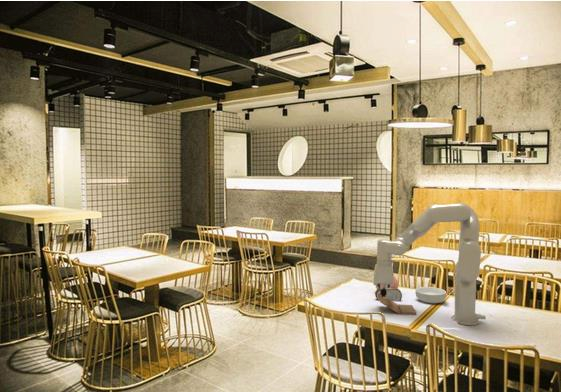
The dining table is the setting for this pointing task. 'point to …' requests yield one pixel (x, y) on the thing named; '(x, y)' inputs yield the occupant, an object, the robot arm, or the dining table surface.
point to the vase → (391, 286)
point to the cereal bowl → (430, 294)
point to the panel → (389, 304)
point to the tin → (390, 294)
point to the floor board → (407, 309)
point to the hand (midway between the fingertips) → (383, 296)
